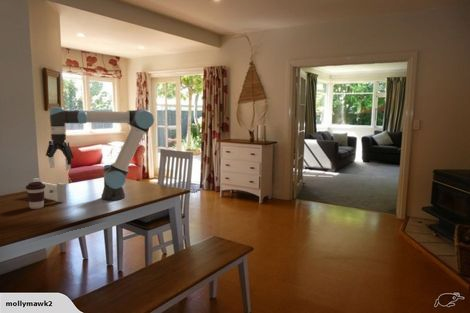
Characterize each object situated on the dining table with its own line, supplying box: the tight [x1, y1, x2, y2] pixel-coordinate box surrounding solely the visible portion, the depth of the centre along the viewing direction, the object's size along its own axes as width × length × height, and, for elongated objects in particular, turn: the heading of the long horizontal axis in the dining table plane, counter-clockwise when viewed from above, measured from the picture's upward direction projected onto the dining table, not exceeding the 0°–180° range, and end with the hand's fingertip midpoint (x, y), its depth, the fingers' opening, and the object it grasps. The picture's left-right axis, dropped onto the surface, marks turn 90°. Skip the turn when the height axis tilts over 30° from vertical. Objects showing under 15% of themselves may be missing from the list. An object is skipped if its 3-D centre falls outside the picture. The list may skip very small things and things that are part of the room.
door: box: [39, 180, 58, 201], centre depth 214 cm, size 17×3×10 cm, turn 63°
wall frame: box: [32, 177, 67, 204], centre depth 214 cm, size 2×30×12 cm, turn 64°
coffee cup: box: [25, 181, 45, 210], centre depth 196 cm, size 10×10×15 cm
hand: (60, 168), depth 195 cm, fingers open, 13 cm apart
